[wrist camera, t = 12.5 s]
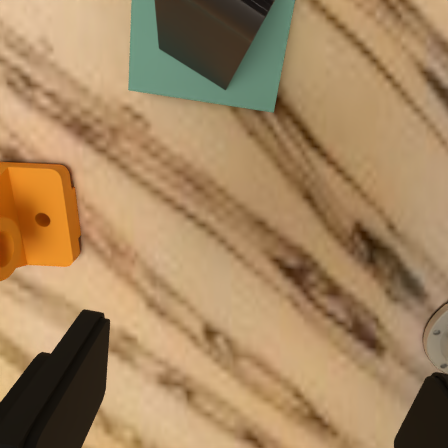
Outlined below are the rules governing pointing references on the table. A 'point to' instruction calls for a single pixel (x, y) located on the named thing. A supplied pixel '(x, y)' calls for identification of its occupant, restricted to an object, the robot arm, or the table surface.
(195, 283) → the table surface
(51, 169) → the bracket
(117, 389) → the table surface
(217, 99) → the green block
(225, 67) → the phone stand
